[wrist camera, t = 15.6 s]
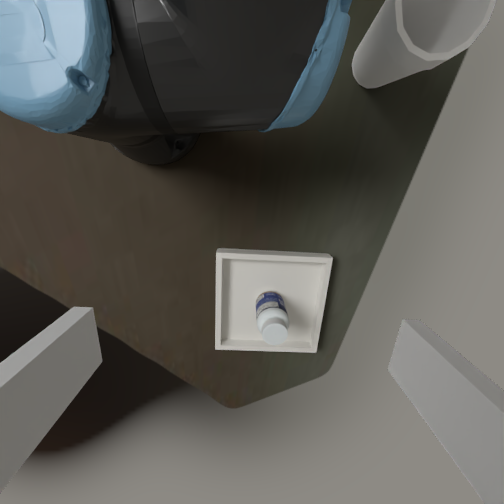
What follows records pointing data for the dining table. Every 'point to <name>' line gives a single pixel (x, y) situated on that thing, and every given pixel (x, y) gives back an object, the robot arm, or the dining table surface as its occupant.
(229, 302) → the tray
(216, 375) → the dining table surface
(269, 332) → the pill bottle
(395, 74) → the foam cup
